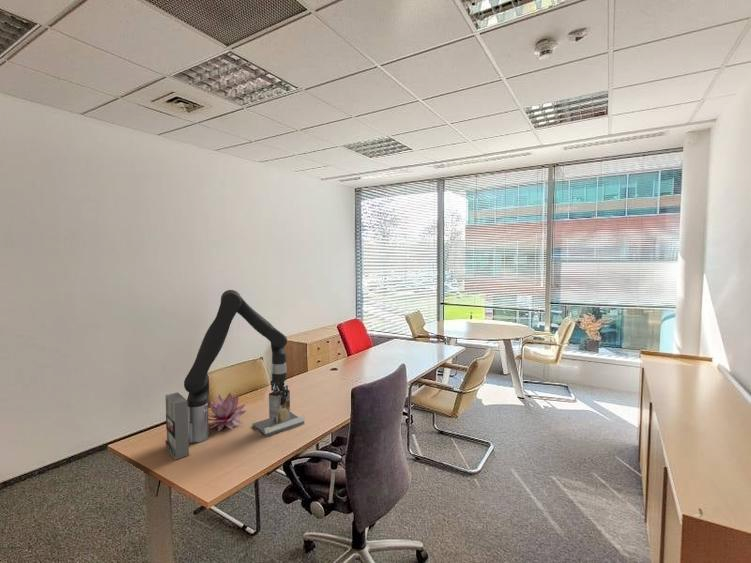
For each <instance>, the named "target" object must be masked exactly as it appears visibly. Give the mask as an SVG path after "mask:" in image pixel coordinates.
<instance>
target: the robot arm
mask: <svg viewBox="0 0 751 563" xmlns="http://www.w3.org/2000/svg"><path fill="white" fill-rule="evenodd" d="M236 314H239V315H240V316H241V317H242V318H243V319H244V320H245V321H246V322H247V323H248V324H249V325H250V326H251V328H253V330H255V331H256V332H258V334H259V335H261V336H263V337H265V338H266V339H267V340H268V342H270V348H271V353H272V354H271V380H270V381H271V382H270V387H271V388H270V389H271V392H274V391H276V390H278V392H279V394H281V405H284V404H285V397H288V390H289V386H288V384H286V385H285V381H286V380H287V379H288V378H287V377H288V376H287V374H288V372H287V371H288V365H287V353H286V351H285V350H286V349H285V346H287V344H288V338H287V336H286V335H285V334H284V333H282V332H281V331H280V330H278V329H277V328H276V327H275V326H274V325H272V323H271V322H269V321H268V320H267V319H266V318H265V317H263V316H262V315H261V314H260V313H258V312H257V311H256V310H255V309H253V308H252V306H250V305H249V304H248V303H247V302H246V301H245V299H243V297H242V296H241V295H240V293H239V292H238V291H236V290H234V289H228V290H226V291H224V292H223V293H222V294H221V297H220V305H219V307H218V311H217V314H216V316H215V318H214V320H213V321H212V322H211V324H210V326H209V327H208V329H207V330H206V332H205V334H204V337H203V339H202V341H201V345H200V347H199V348H198V351H197V354H196V358H195V360H194V362H193V364H192V366H191V368H190V370H189V372H188V373H187V375H186V377H185V378H184V381H183V386H184V390H185V391H186V392H187V393H188V394H187V398H186V400H187V404H188V438H189V444H194V443H195V444H196V443H201V442H204V441H206V440H207V439H209V435H210V434H209V433H210V432H209V428H210V427H209V424H208V423H209V420H208V419H209V416H208V413H209V396H210V376H209V374H208V372H209V371H210V368H211V367H212V365H213V363H214V361H215V360H216V358H217V357H218V355H219V353H220V352H221V349H222V348H223V345H224V343H225V341H226V338H227V335H228V333H229V330H230V328H231V327H230V326H231V324H232V321H233V319H234V318H235V316H236Z"/></svg>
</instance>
